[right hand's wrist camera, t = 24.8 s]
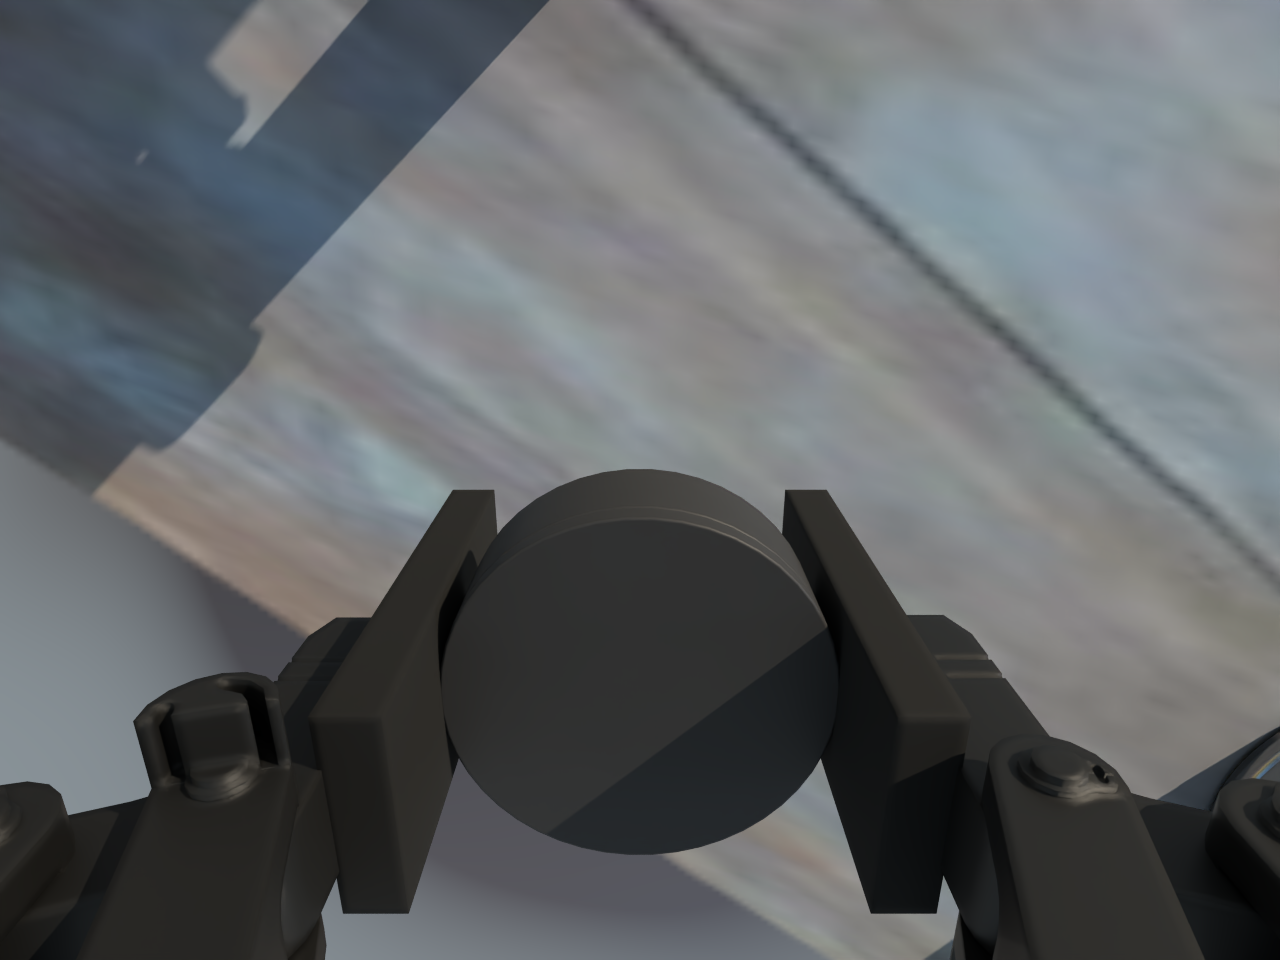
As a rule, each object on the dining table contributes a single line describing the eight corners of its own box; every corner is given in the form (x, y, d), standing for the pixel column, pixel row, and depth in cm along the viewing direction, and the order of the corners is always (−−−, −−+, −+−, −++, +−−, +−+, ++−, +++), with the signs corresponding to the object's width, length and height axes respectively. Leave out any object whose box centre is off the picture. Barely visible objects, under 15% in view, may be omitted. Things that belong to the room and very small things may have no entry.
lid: (597, 817, 13) (591, 909, 12) (396, 587, 12) (354, 655, 10) (873, 669, 12) (911, 746, 11) (692, 396, 11) (701, 434, 9)
